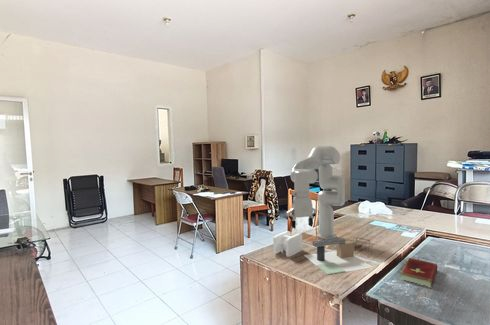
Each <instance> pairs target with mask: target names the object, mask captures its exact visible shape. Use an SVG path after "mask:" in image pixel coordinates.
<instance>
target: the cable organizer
mask: <svg viewBox="0 0 490 325" xmlns="http://www.w3.org/2000/svg"><path fill="white" fill-rule="evenodd" d="M272 241H273V244H272V245H273V254H275V255H276V254H280V253H281V254H283V252H285V256H286V257H288V258H290V257H292V256H294V255H296V254H298V253H300V252H301V251H303V250H304V249H303V234H302V233H297V234H294V235H292V231H289V230H285V231H283V232H280V233H277V234H276V235H274V236H273V240H272Z"/></svg>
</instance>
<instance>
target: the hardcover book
mask: <svg viewBox="0 0 490 325" xmlns="http://www.w3.org/2000/svg"><path fill="white" fill-rule="evenodd" d="M437 271H438V264H437V263H435V262H431V261H430V262H429V261H426V260H422V259H417V258H412V257H408V258H407V261H406V262H405V264H404V266H403V268H402V269H401V271H400V275H401V280H402V279H404V280H408V281H412V282H416V283H419V284H423V285H426V286H430V287H433V284H434V281H435V277H436V274H437ZM404 280H403V281H404ZM419 284H418V285H419ZM426 286H425V287H426ZM430 287H429V288H430Z"/></svg>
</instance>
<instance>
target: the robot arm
mask: <svg viewBox="0 0 490 325" xmlns="http://www.w3.org/2000/svg"><path fill="white" fill-rule="evenodd" d="M340 161H341V153H340V152H339V151H338V150H337V149H336V147H335V146H332V145H324V146H321V145H318V146H315V147H313V148H312V149H311V151H310V153H309V155H308V156H307V158H305V159H302V160H300V161H298V162H296V163H295V165H293V167H292V169H291V171H290V179H291V181H292V182H293V184H294V188H293V189H294V191H293V192H292V193H291V195H292V196H293V198H292V202H291V203H292V204H291V208H290V209H289V210H288V211H286V212H285V214H286V216H287V217H288V219H289V220H290V224H291V227H292V228H293V229H294V230H295V229H296V228H297V227H296V226H297V225H296V219H297V218H306V217H307V218H308V220H307V221H308V226H309V227H312V228H313V225H314V218H315V217H316V216H317V213H318V216H319V217H318V220H319V222H318V224H319V226H318V228H317V230H318V232H317V233H316V237H317V238H319V239H321V240H327V239H335V238H337V234H336V233H335V232H334V231H335V230H334V229H335V228H334V227H335V226H334V223H335V222H334V221H335V218H334V217H335V215H334V209H333V207H334V206H335V207H339V206H340V207H342V206H344V205H345V202H346V194H345V193H346V191H345V188H346V187H345V186H346V185H345V180H344V177H343V176H341V175H336V174H335V175H334V174H333V167H332V165H338V164H339V163H340ZM317 169H318V172H317V171H316V170H317ZM318 179H319V180H318ZM316 181H318V184H319V187H320V188H321V189H323V190H320V191H318V193H317V202H318V209H316V208H314V207H313V201H312V197H311V196H310V184H314V183H316ZM332 206H333V207H332Z"/></svg>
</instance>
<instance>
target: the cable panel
mask: <svg viewBox="0 0 490 325" xmlns="http://www.w3.org/2000/svg"><path fill="white" fill-rule="evenodd" d="M354 246H355V243H354V241H351V240H349V239H348V240H345V243H341V244H336V250H332V251H325V260H324V261H318V260H317V253H311V254H304V255H303V256H304V257H305V258H306V259H308V260H309V261H310V262H311V263H312V264H314V266H315V267H317V268H319V269H320V270H321V271H322V272H323V273H325V275H328V276H330V275H334V274H335V275H336V274H341V273H346V272H353V271H360V270H364V269H371V268H373V265H371V264H369V263H368V262H366V261H364V260H362V259H360V258H359V257H357V256H356V255H354V254H355V248H354Z"/></svg>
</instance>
